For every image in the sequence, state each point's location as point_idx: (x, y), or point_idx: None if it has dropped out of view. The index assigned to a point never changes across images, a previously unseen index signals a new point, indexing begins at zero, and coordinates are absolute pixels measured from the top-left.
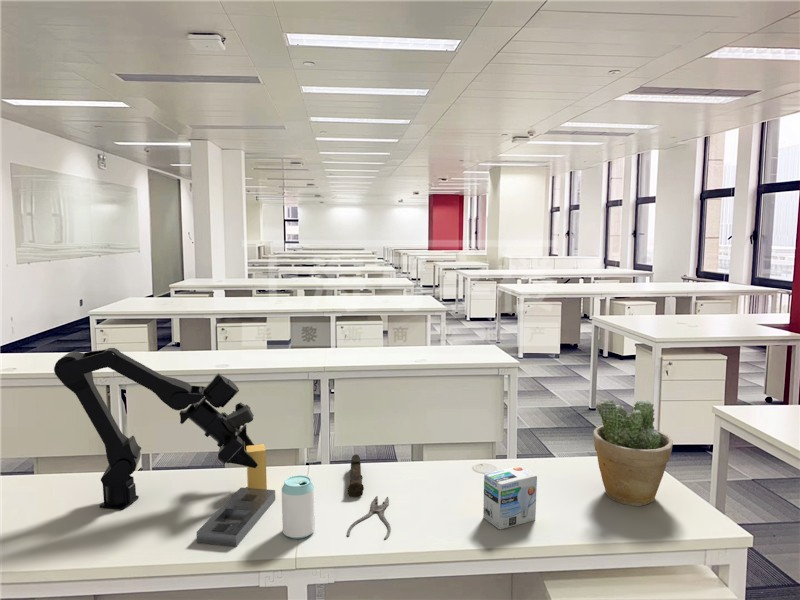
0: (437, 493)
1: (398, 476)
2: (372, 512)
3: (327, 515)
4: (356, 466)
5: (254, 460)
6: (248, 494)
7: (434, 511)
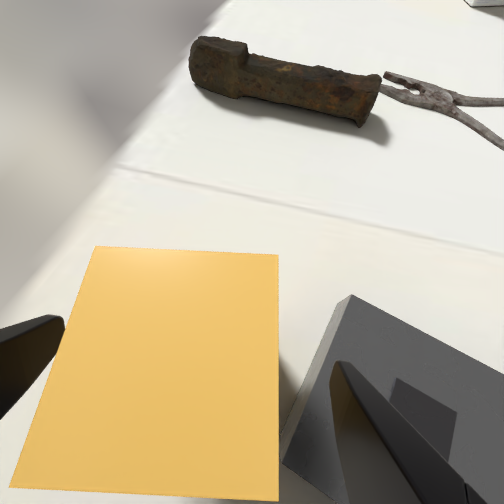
0: (373, 21)
1: (280, 41)
2: (458, 108)
3: (460, 188)
4: (262, 59)
5: (359, 391)
6: None
7: (445, 40)
